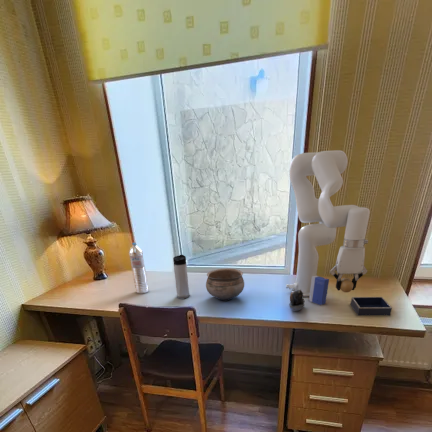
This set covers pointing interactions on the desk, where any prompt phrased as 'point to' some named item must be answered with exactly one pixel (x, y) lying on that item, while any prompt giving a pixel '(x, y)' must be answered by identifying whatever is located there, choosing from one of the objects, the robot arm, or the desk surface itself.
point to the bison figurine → (296, 300)
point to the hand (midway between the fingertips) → (345, 288)
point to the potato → (346, 285)
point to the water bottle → (138, 269)
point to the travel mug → (181, 276)
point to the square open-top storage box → (370, 306)
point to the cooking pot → (225, 283)
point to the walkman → (318, 290)
